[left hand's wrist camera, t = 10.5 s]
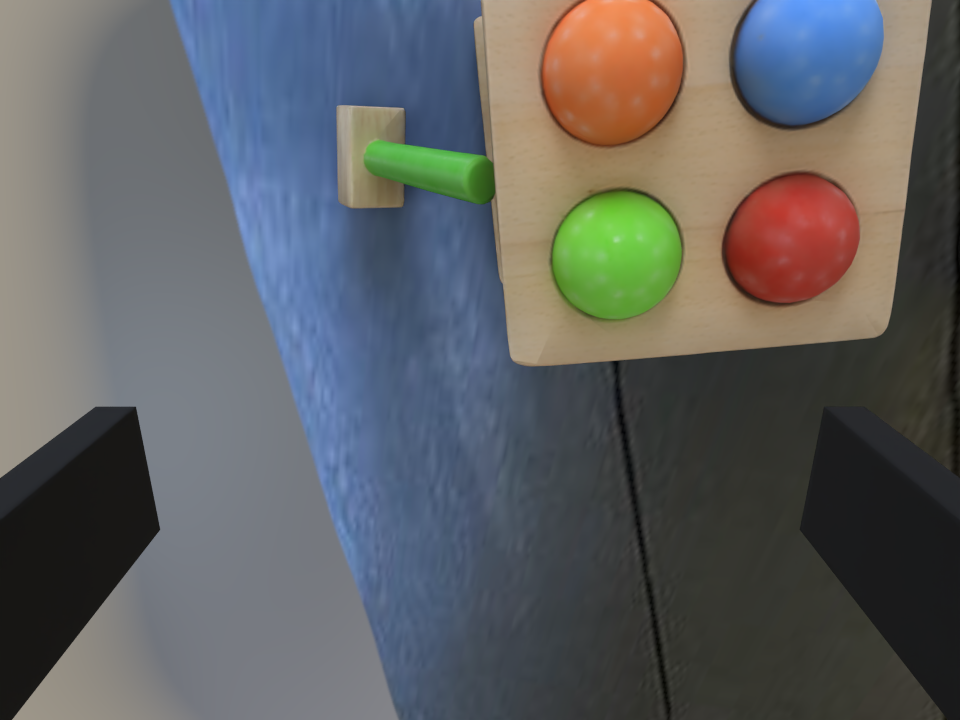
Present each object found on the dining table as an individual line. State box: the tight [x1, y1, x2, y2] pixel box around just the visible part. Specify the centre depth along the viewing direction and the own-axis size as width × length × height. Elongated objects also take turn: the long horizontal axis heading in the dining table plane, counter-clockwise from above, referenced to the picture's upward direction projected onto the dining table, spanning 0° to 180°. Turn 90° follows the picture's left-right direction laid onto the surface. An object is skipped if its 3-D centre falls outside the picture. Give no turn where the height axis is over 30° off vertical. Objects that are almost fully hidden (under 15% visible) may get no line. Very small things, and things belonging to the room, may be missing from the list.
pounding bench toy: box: [337, 0, 932, 366], centre depth 29 cm, size 23×14×18 cm, turn 95°
